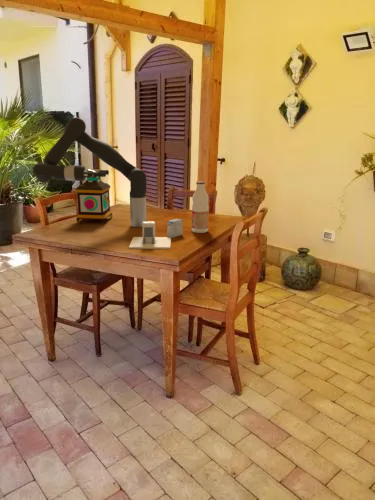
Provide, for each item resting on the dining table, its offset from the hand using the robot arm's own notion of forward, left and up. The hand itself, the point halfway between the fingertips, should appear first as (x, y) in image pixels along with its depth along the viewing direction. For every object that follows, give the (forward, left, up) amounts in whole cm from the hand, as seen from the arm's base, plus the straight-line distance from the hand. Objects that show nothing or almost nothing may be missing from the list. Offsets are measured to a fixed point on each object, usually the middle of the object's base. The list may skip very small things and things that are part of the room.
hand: (107, 173), depth 206 cm
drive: (+9, +21, -33) cm, 40 cm away
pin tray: (+9, +22, -34) cm, 42 cm away
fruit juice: (-16, +48, -34) cm, 61 cm away
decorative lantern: (-40, -16, -34) cm, 55 cm away
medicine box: (-6, +34, -34) cm, 49 cm away
